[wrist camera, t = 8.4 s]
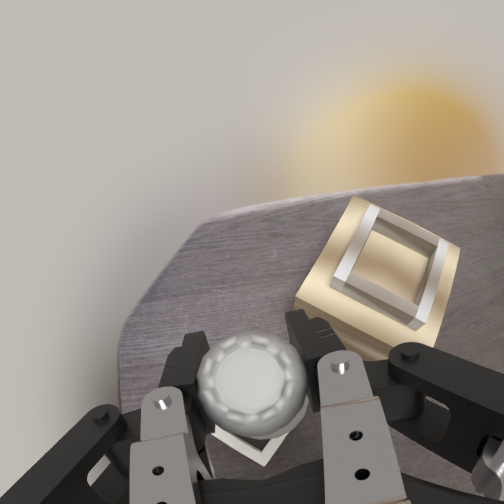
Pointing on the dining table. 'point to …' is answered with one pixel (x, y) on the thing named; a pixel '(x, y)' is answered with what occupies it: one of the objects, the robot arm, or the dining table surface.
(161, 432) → the robot arm
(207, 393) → the rook chess piece
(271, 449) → the low collar
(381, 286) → the birch stand
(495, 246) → the dining table surface
